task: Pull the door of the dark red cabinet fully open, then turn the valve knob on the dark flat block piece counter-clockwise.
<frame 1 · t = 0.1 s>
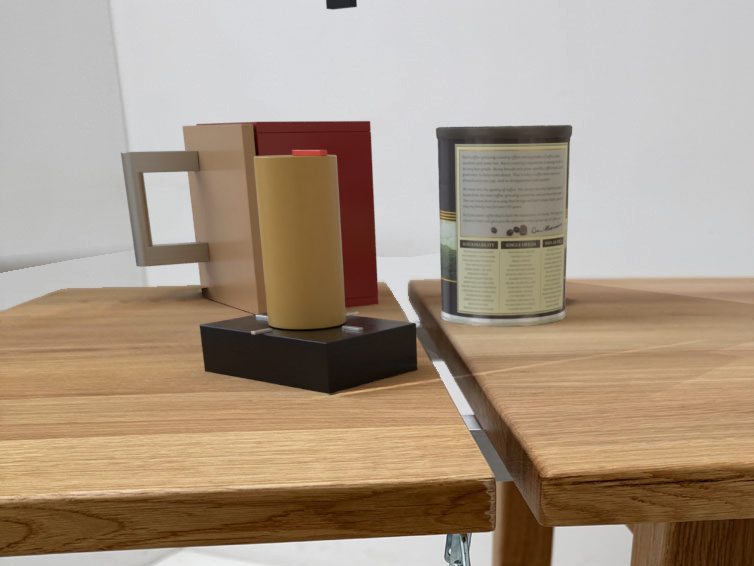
hand: (281, 1, 79), 23 cm above the table, tool pointing down, fingers open, 13 cm apart
valve knob: (301, 239, 61), point 8 cm above the table, hinge at 0.0°
dark flat block piece: (311, 372, 65), on the table
door: (189, 220, 85), point 7 cm above the table, hinge at 0.0°
coffee can: (502, 319, 83), on the table
dark red cabinet: (294, 301, 93), on the table
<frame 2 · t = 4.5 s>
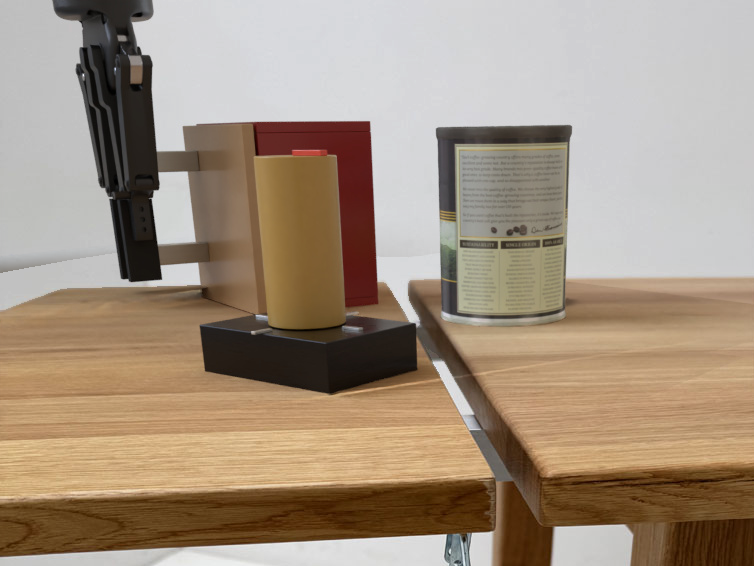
hand: (141, 278, 89), 2 cm above the table, tool pointing down, fingers closed on door, 2 cm apart
door: (189, 220, 85), point 7 cm above the table, hinge at 0.0°, touching gripper
everything else where it was.
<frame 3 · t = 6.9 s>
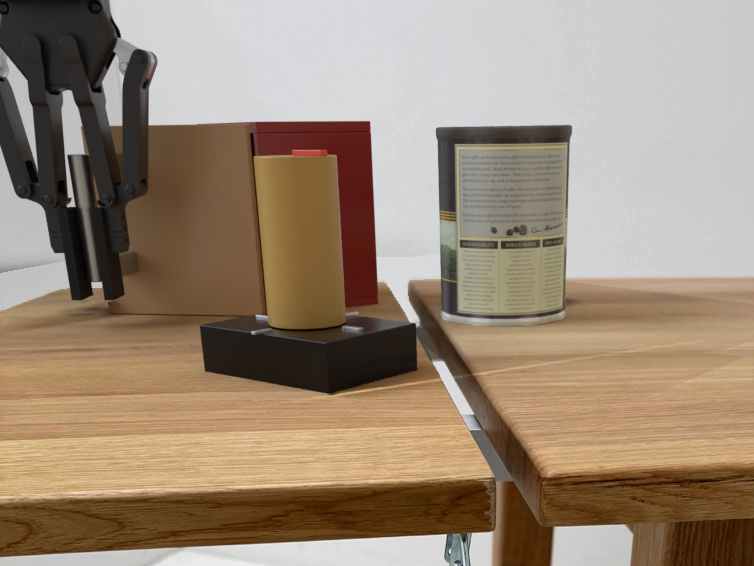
hand: (98, 297, 79), 2 cm above the table, tool pointing down, fingers closed on door, 2 cm apart
door: (159, 226, 80), point 7 cm above the table, hinge at 47.4°, touching gripper
everything else where it was.
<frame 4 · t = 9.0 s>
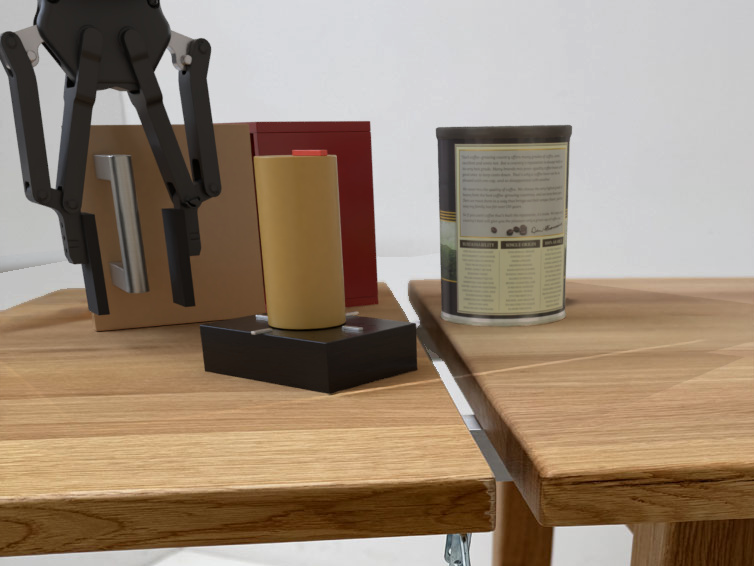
hand: (142, 307, 73), 3 cm above the table, tool pointing down, fingers open, 5 cm apart
door: (181, 230, 76), point 7 cm above the table, hinge at 85.5°
everything else where it was.
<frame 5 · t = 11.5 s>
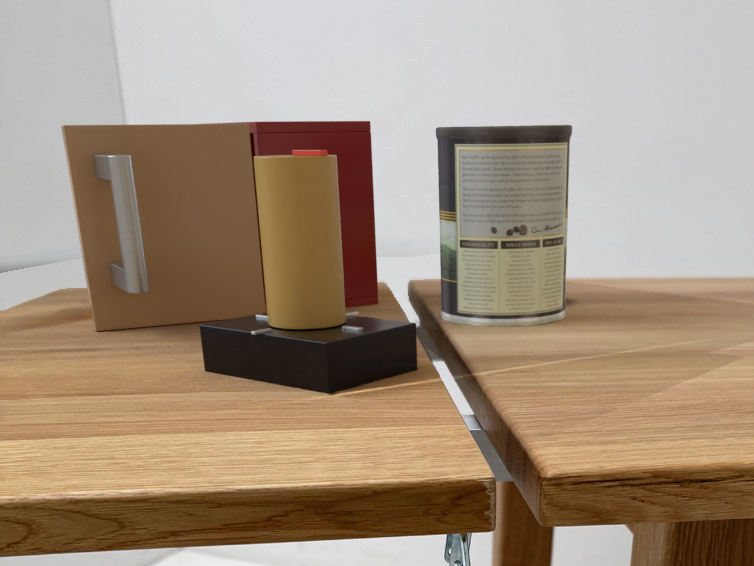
nothing on the table moved.
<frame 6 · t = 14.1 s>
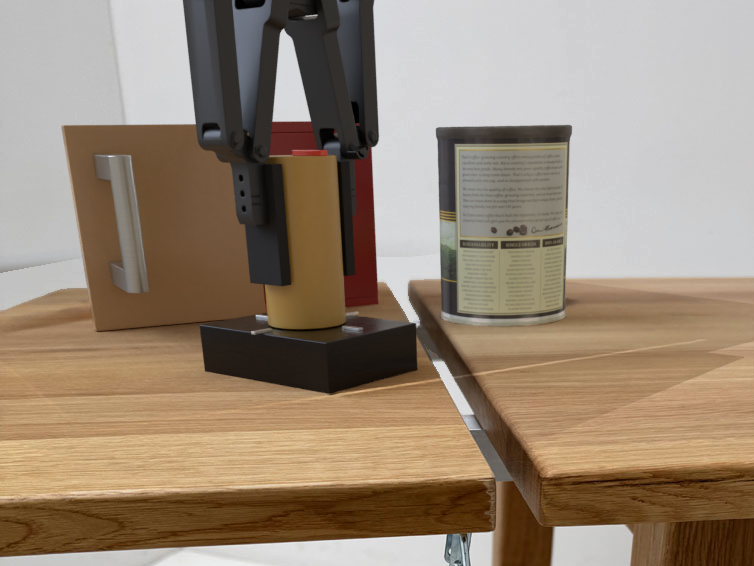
hand: (304, 277, 62), 6 cm above the table, tool pointing down, fingers closed on valve knob, 5 cm apart
valve knob: (301, 239, 61), point 8 cm above the table, hinge at 0.0°, touching gripper
everything else where it was.
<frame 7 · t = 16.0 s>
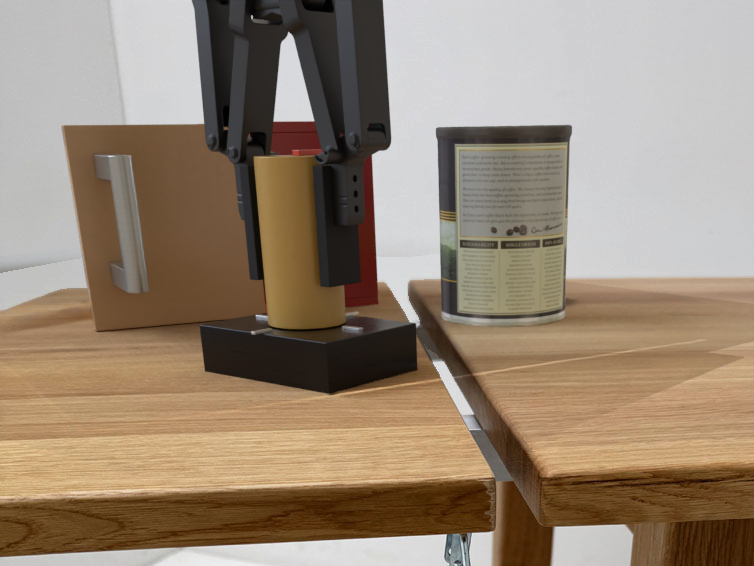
hand: (304, 280, 62), 6 cm above the table, tool pointing down, fingers open, 5 cm apart
valve knob: (301, 239, 61), point 8 cm above the table, hinge at 91.0°
everything else where it was.
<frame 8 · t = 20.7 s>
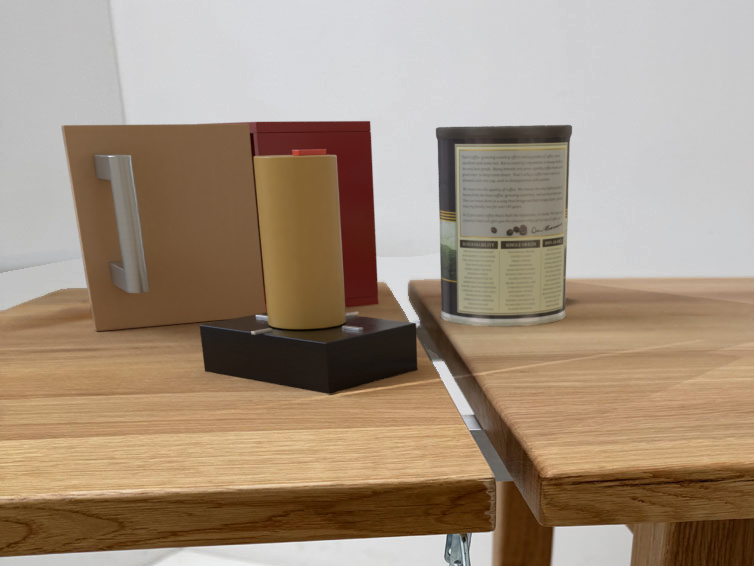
nothing on the table moved.
at the end: door at +86° (first picture: +0°); valve knob at +91° (first picture: +0°) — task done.
